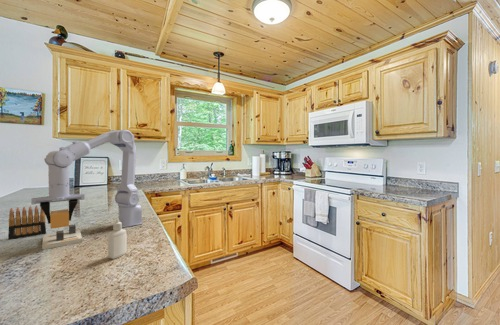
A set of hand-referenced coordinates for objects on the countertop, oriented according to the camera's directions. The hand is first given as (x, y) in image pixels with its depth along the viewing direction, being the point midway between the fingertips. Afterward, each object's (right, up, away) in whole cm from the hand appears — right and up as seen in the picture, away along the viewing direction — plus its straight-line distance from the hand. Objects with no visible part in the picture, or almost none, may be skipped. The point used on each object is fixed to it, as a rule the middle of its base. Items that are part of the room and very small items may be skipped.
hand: (59, 221), depth 82 cm
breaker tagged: (-1, -7, +1) cm, 7 cm away
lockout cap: (0, -1, 0) cm, 1 cm away
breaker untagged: (-2, -7, +9) cm, 11 cm away
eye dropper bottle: (+26, -9, -8) cm, 28 cm away
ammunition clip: (-20, -8, +8) cm, 23 cm away
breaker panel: (-2, -8, +4) cm, 10 cm away
